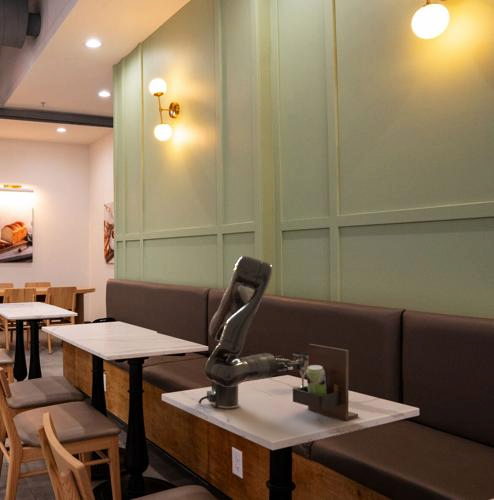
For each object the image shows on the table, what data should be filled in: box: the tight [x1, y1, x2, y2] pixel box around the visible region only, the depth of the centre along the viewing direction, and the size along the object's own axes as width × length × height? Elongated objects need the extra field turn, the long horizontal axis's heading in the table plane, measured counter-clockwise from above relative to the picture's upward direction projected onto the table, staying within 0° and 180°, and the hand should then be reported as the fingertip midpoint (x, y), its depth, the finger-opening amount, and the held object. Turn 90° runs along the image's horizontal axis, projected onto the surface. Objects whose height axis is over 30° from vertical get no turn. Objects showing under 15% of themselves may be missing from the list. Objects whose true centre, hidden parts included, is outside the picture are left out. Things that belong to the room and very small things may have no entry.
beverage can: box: [306, 365, 327, 395], centre depth 178 cm, size 6×7×12 cm
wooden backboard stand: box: [292, 343, 359, 422], centre depth 180 cm, size 19×15×24 cm
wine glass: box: [292, 351, 308, 389], centre depth 218 cm, size 8×8×15 cm
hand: (292, 361), depth 171 cm, fingers open, 8 cm apart
